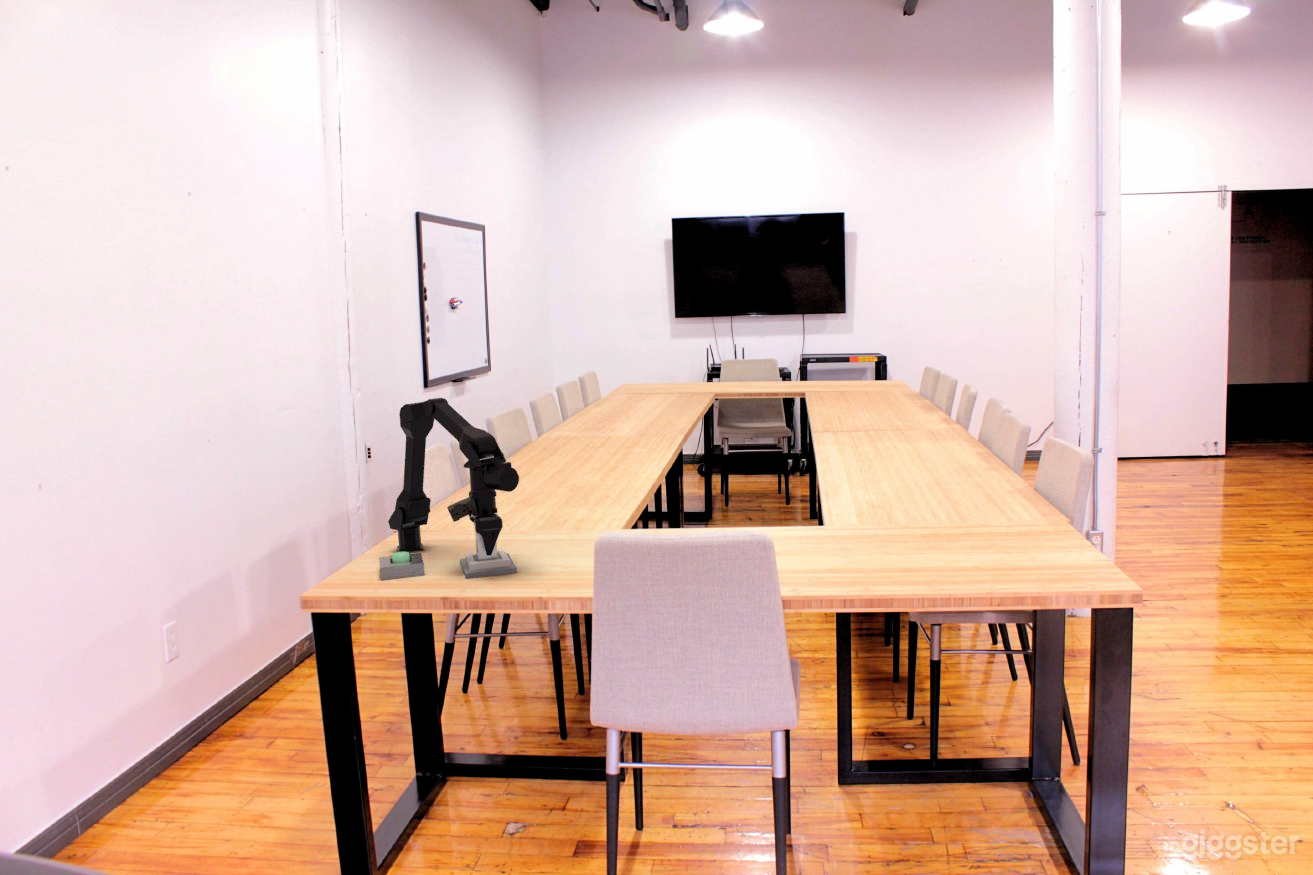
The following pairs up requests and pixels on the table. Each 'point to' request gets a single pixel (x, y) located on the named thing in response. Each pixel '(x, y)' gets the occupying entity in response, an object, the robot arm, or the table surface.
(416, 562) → the square peg board
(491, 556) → the block
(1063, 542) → the table surface
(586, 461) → the table surface
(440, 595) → the table surface
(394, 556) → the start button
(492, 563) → the grey slotted socket base
